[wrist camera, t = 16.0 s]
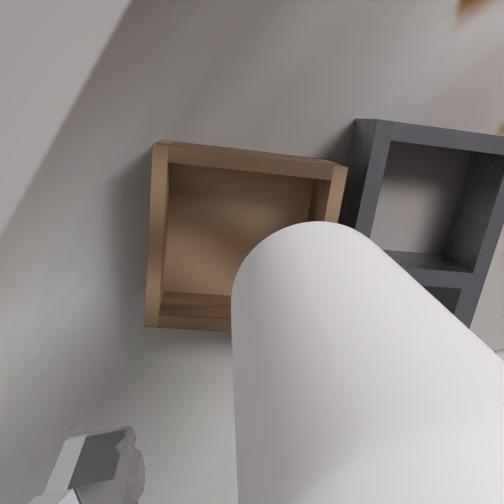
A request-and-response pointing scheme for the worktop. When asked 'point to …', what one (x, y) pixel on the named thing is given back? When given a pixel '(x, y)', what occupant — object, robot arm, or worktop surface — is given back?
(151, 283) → the box
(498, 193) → the tray
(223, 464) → the worktop surface
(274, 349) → the can
